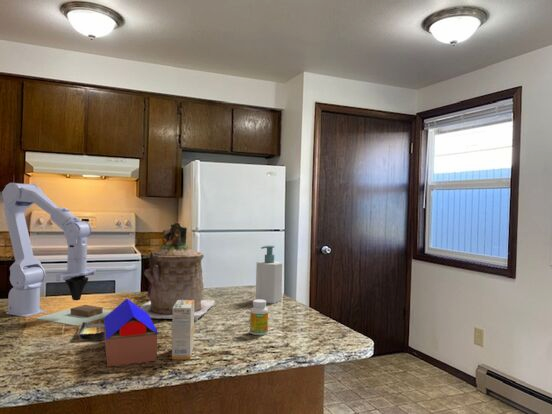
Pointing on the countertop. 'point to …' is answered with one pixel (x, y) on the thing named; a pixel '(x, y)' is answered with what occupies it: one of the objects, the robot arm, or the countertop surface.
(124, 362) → the house
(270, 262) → the soap bottle
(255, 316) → the supplement bottle
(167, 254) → the brown textured pot
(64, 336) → the countertop surface
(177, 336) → the supplement box
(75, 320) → the mat
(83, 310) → the walnut slab
